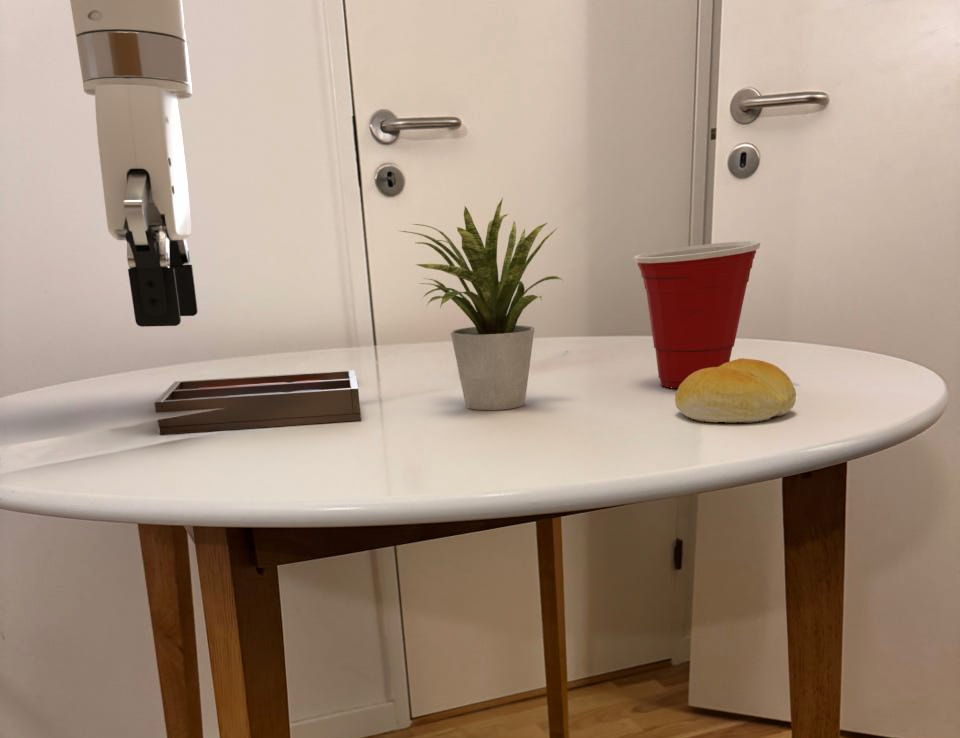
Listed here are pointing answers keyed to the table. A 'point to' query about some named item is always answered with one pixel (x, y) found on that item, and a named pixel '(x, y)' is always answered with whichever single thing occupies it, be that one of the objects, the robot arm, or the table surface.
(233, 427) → the organiser
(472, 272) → the house plant
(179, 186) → the robot arm
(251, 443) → the table surface
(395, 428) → the table surface
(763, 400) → the bread roll
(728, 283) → the plastic cup
